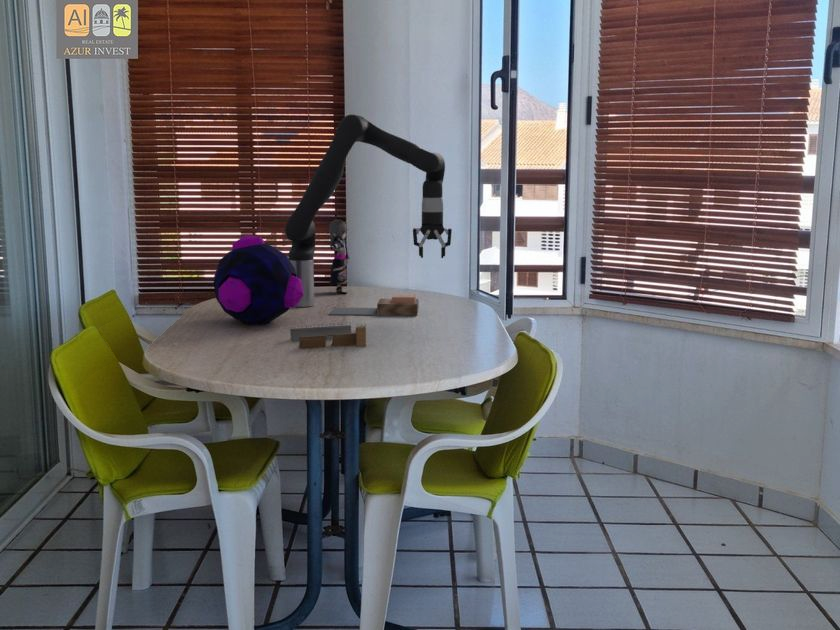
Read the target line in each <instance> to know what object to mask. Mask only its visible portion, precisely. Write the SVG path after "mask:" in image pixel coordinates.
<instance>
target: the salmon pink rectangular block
mask: <svg viewBox="0 0 840 630" xmlns="http://www.w3.org/2000/svg"><path fill="white" fill-rule="evenodd" d="M391 299H392V303H415V299H416V294H392V296H391Z"/></svg>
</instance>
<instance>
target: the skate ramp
mask: <svg viewBox="0 0 840 630" xmlns="http://www.w3.org/2000/svg"><path fill="white" fill-rule="evenodd" d="M329 325H330V326H329ZM329 325H328V323H325V326H323V324H320V326H318V323H317V324H314V326H311V327H308V325H303V327H301V325H297V324H296V327H295V328H290V330H289V331H290V341H291V342H292V343H294V342H298V348H299V349H300V350H302V349H305V350H306V349H317V348H318V349H320V348H326V347H327V340H332V342H331V346H333V347H346V346H348V347H349V346H356V347H357V348H358V347H367V345H366V344H367V335H366V334H367V332H366V331H367V328H366V326H367V324H366V323H365V322H364V324H363V323H362V324H359V323H357V326H356V327H355V329H354V332H353V331H352V325H351V322H346V324H344V325H341V324H340V322H337V323H336V322H335V323H333V322H332V323H329ZM316 326H317V327H316Z"/></svg>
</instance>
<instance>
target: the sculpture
mask: <svg viewBox="0 0 840 630" xmlns="http://www.w3.org/2000/svg"><path fill="white" fill-rule="evenodd" d="M231 248H232V249H231V250H230V251H228V252H227V253H226V254H225V255H224V256H223V257H222V258H220V260H219V262H218V264H217V267H216V270H215V273H214V276H213V287H214V288H213V289H214V294H215V299H216V300H217V302H218V304H219V305H220V307H221V309H222V310H223V312H225V313H226V314H228V315H229V316H231V317H232V318H233V319H235V320H237V321H239V322H241V323H242V324H248V325H249V324H251V325H258V326H259V325H265V324H268V323H271V322H273V321H274V320H276V319H277V318H279V317H281V316H282V315H284V314H285V313H287V312H288V311H289V310H290V309H291V308H292V309H293V308H297V307H296V306H297V304H298V303H299V301H300V300H301V298H302V297H303V295H304V294H303V288H302V281H301V279H299V278H297V277H296V271H295V268H294V266H293V265H292V263H291V261H290V260H289V258H288V255H286V254H285V253H284V252H282V251H281V250H279V249H278V248H276V247H274V246H273V245H270V244H269V243H266V242H265V241H264V238H263V237H260V236H255V235H250V234H244V235H243V236H241V237H240V238H239V239H237V240H235V242H233V243H232V245H231Z"/></svg>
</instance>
